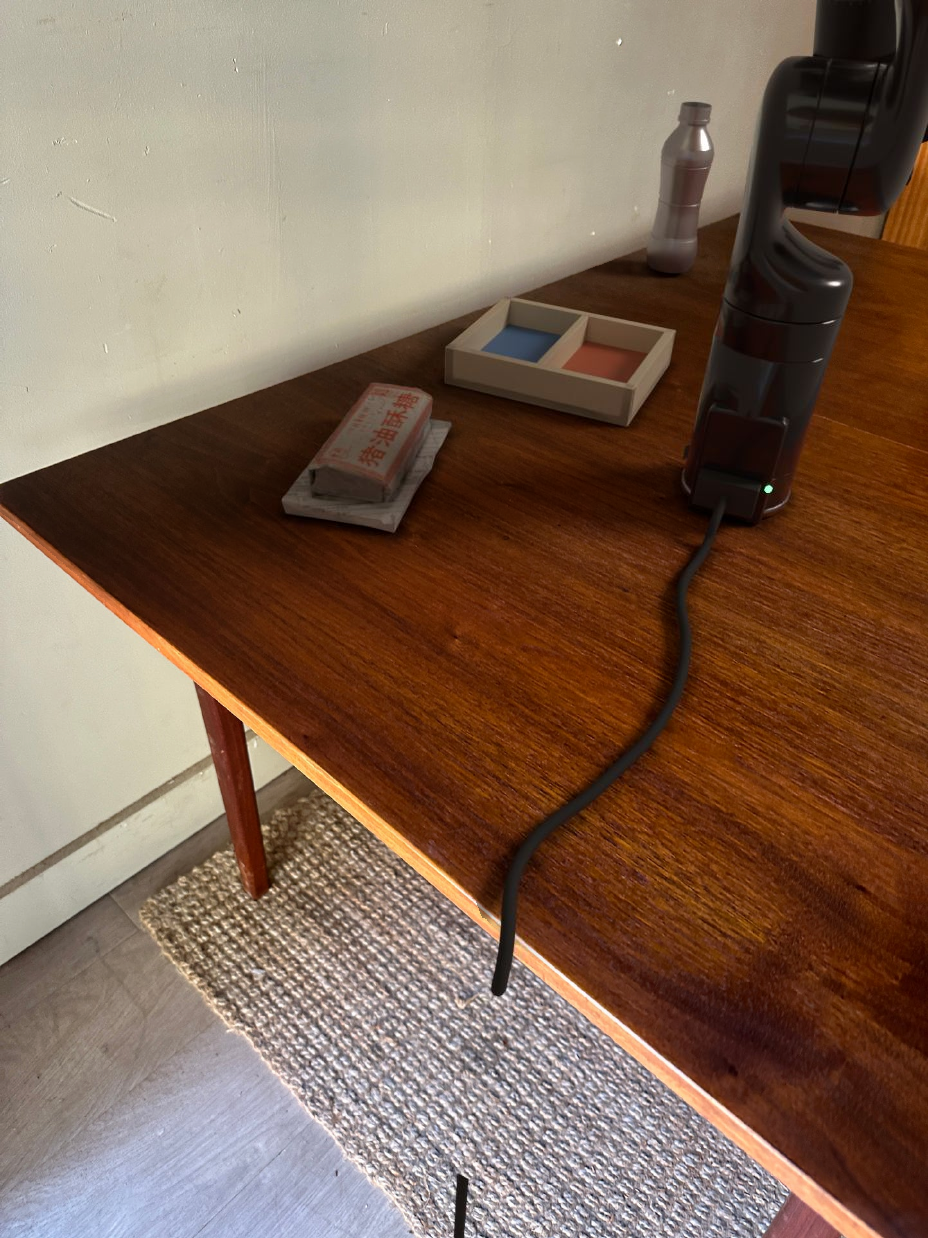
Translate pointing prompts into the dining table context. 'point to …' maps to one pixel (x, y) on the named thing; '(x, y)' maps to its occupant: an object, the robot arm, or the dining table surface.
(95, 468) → the dining table surface
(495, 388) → the sorting tray
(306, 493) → the packaged product
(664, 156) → the plastic bottle
